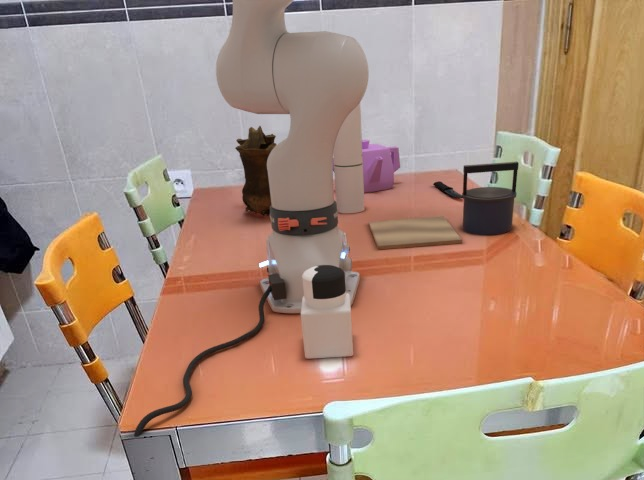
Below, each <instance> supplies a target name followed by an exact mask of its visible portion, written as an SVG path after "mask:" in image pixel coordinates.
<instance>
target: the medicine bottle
mask: <svg viewBox="0 0 644 480" xmlns="http://www.w3.org/2000/svg"><path fill="white" fill-rule="evenodd" d="M302 279H303V289H304V296H303V298H302V306H301V313H300V321H301V322H300V323H301V331H302V332H301V333H302V341H303V351H304V357H305V359H307V360H309V359H310V360H311V359H323V358H324V359H326V358H327V359H328V358H329V359H330V358H344V357H345V358H346V357H353V356H354V343H353V341H354V339H353V323H352V309H351V307H352V305H350V295H349V294H348V293H347V294H346V286H345V272H344V271H343V270H342V269H341V268H339V267H336V266H332V265H319V266H314V267H312V268H310V269H308V270H306V271H305V272H304V273H303V275H302Z"/></svg>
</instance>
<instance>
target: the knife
mask: <svg viewBox="0 0 644 480" xmlns="http://www.w3.org/2000/svg"><path fill="white" fill-rule="evenodd" d="M432 185H433V187H436V188H438V189H439V190H441V191H442V193H444V194H448V195H450V196H451V197H454V198H457V199H463V198H462V193H459V192H458V191H456V190H454V188H453V187H451V186H448V185H446V184H445V183H443V182H442V181H439V180H438V181H435V182H433V184H432Z"/></svg>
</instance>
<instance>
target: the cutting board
mask: <svg viewBox="0 0 644 480" xmlns="http://www.w3.org/2000/svg"><path fill="white" fill-rule="evenodd" d="M368 227H369V229H370V232H371V235H372V237H373V239H374V242H375V245H376V247H377V249H378V250H389V249H390V250H392V249H403V248H404V249H405V248H417V247H429V246H430V247H431V246H442V245H455V244H457V245H459V244H462V243H463V239H462V238H461V236H460V235H459V234H458V233H457V232H456V230H455V229H454V227H453V226H452V225H451V224H450V222H449V221H448V220H447V219H446V217H445V216H442V215H441V216H429V217H428V216H427V217H415V218H402V219H401V218H400V219H387V220H386V219H385V220H373V221H368Z"/></svg>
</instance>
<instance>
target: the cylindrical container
mask: <svg viewBox="0 0 644 480" xmlns="http://www.w3.org/2000/svg"><path fill="white" fill-rule="evenodd" d="M361 112H362V110H361V102H360V103H359V104H358V106H357V107H356V108H355V109H354V110H353V111H351V113H350V114H349V115H348V116H347V118H346V119H345V121H344V122H343V124H342V126H341V128H340V130H339V132H338V135H337V138H336V142H335V146H334V152H333V158H334V171H333V174H334V188H335V201H336V203H337V209H338V213H341V214H356V213H361V212H364V211H365V210H366V209H365V193H364V182H363V158H362V140H363V136H362V114H361Z"/></svg>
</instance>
